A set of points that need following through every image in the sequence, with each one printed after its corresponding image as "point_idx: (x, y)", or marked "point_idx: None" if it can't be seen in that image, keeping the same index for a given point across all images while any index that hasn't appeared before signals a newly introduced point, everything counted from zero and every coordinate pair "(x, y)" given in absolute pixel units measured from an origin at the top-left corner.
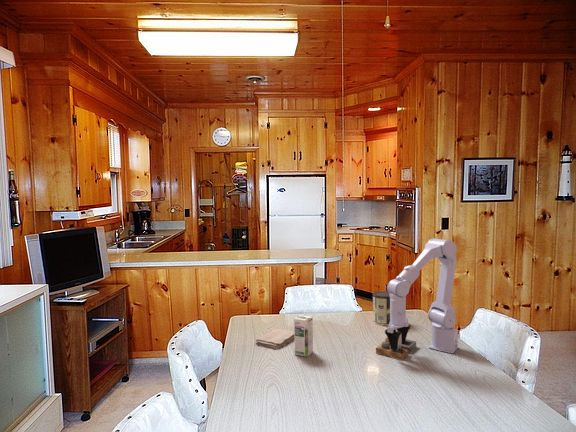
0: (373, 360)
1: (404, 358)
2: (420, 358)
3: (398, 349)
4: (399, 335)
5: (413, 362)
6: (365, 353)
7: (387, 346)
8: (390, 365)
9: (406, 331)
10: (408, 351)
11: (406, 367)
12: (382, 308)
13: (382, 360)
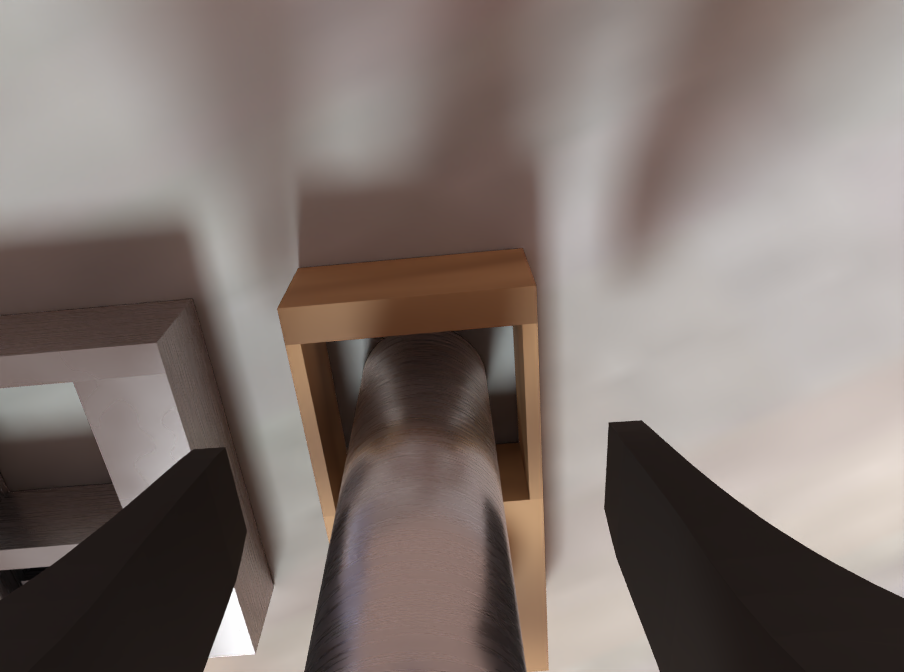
0: None
1: (460, 257)
2: (232, 41)
3: (479, 419)
4: (833, 646)
5: (493, 66)
6: (617, 669)
7: None
8: (820, 305)
9: (62, 656)
10: (187, 320)
11: (772, 70)
12: None
13: (707, 456)
